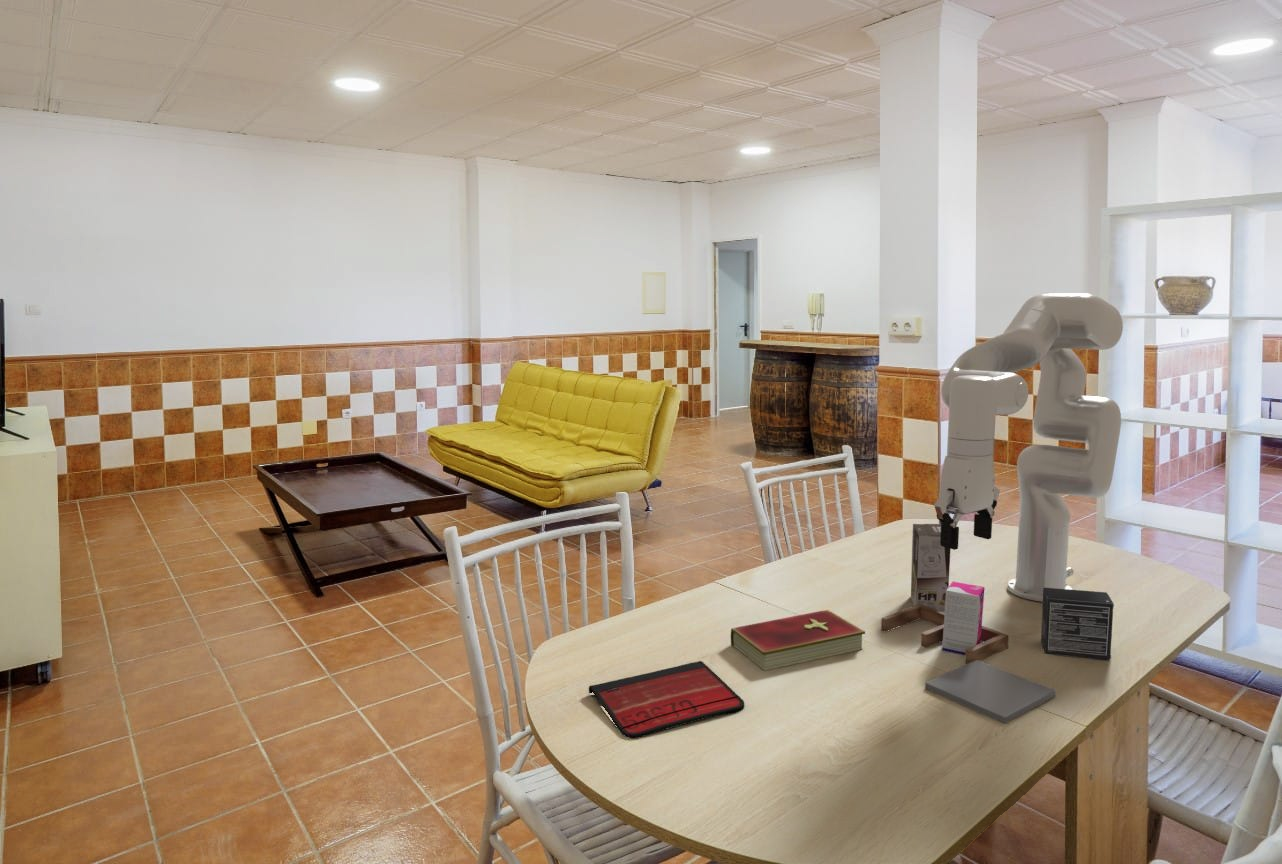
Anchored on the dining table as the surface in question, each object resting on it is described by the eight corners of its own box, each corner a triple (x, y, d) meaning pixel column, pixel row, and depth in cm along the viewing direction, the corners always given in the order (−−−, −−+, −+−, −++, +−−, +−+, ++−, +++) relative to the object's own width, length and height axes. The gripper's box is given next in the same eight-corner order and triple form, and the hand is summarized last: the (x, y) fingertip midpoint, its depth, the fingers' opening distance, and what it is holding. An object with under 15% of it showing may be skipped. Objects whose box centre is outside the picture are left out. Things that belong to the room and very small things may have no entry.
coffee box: (948, 614, 165) (952, 536, 162) (915, 612, 166) (917, 535, 164) (941, 597, 174) (944, 523, 171) (909, 595, 175) (912, 522, 172)
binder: (588, 684, 135) (701, 658, 144) (588, 697, 136) (700, 671, 144) (627, 734, 121) (750, 702, 129) (627, 748, 121) (750, 716, 130)
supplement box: (976, 658, 145) (979, 596, 143) (941, 651, 149) (943, 590, 147) (982, 645, 150) (985, 585, 148) (948, 639, 153) (950, 580, 151)
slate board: (975, 665, 143) (976, 659, 143) (1055, 696, 131) (1055, 690, 131) (925, 688, 135) (925, 682, 135) (1004, 723, 123) (1005, 717, 123)
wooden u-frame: (919, 615, 164) (919, 603, 164) (1008, 648, 149) (1008, 635, 149) (881, 630, 158) (881, 617, 158) (969, 665, 143) (970, 651, 142)
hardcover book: (730, 647, 153) (730, 625, 152) (826, 628, 161) (826, 607, 160) (763, 674, 142) (763, 651, 141) (864, 652, 150) (865, 630, 149)
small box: (1104, 646, 149) (1108, 590, 147) (1111, 661, 143) (1115, 604, 141) (1039, 639, 152) (1042, 585, 151) (1043, 654, 146) (1047, 597, 145)
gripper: (980, 438, 151) (975, 529, 154) (920, 450, 141) (917, 546, 144) (1019, 444, 145) (1013, 538, 148) (959, 456, 135) (954, 557, 138)
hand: (965, 542), depth 146 cm, fingers open, 9 cm apart
